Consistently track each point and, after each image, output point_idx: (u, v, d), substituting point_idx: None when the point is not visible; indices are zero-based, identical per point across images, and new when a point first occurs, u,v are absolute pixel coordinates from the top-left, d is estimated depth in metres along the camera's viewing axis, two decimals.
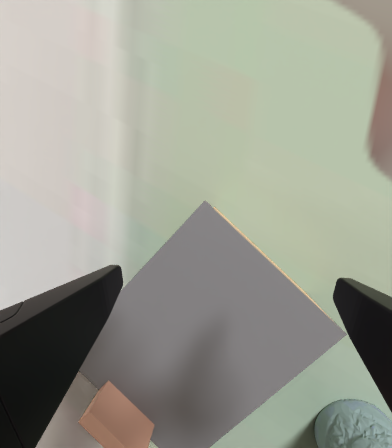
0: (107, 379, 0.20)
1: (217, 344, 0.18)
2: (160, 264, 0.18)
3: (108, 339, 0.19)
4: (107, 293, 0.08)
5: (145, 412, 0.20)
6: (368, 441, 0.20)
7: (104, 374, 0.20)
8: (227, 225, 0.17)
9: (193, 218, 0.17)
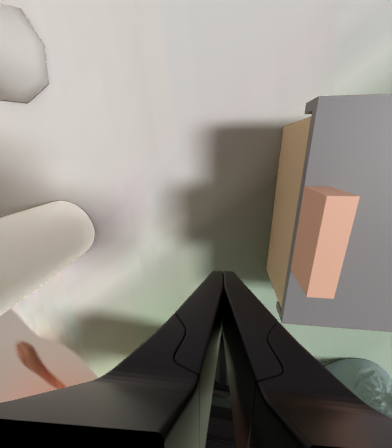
0: (330, 184, 0.13)
1: None
2: None
3: None
4: None
5: None
6: None
7: (334, 175, 0.13)
8: None
9: None
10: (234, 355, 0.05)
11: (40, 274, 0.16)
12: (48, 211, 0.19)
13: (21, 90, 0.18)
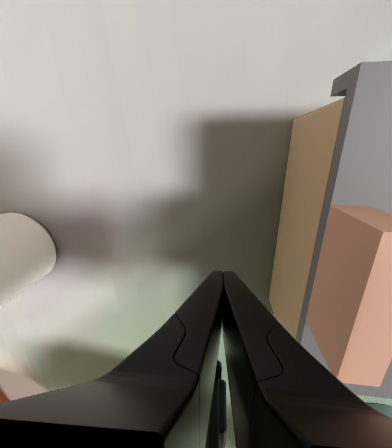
0: (370, 202, 0.08)
1: None
2: None
3: None
4: None
5: None
6: None
7: (378, 189, 0.08)
8: None
9: None
10: (234, 355, 0.05)
11: None
12: None
13: None
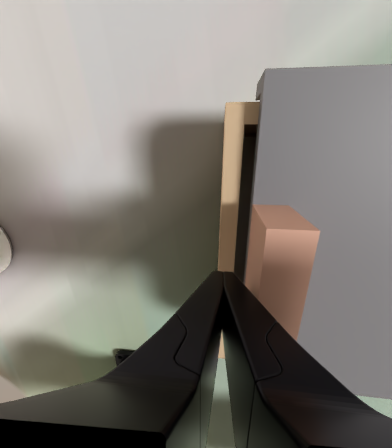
0: (289, 201, 0.09)
1: None
2: None
3: (390, 136, 0.08)
4: None
5: None
6: None
7: (295, 189, 0.09)
8: None
9: None
10: (233, 355, 0.05)
11: None
12: None
13: None
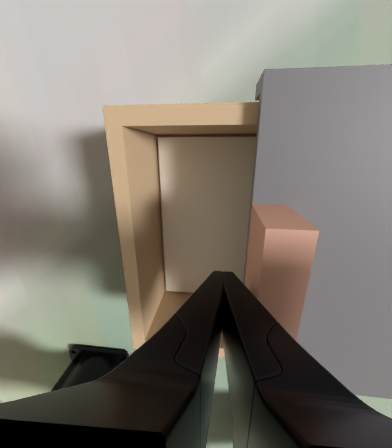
0: (288, 202, 0.09)
1: None
2: None
3: (389, 136, 0.08)
4: None
5: None
6: None
7: (294, 189, 0.09)
8: None
9: None
10: (233, 355, 0.05)
11: None
12: None
13: None
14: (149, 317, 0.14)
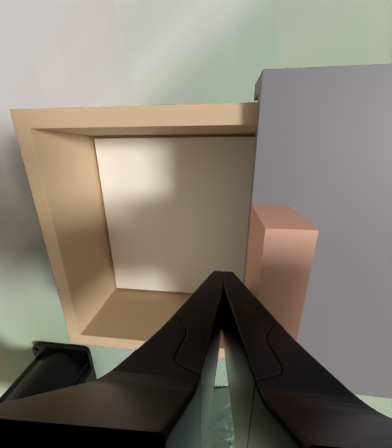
0: (288, 201, 0.09)
1: None
2: None
3: (388, 136, 0.08)
4: None
5: None
6: None
7: (293, 189, 0.09)
8: None
9: None
10: (233, 355, 0.05)
11: None
12: None
13: None
14: (89, 312, 0.15)
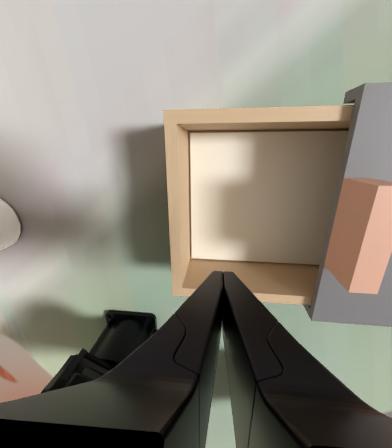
0: (371, 175, 0.12)
1: None
2: None
3: None
4: None
5: None
6: None
7: (376, 166, 0.12)
8: None
9: None
10: (234, 355, 0.05)
11: None
12: None
13: None
14: (183, 272, 0.18)
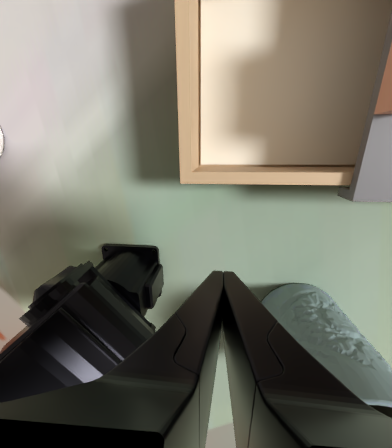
0: None
1: None
2: None
3: None
4: None
5: None
6: (344, 317, 0.19)
7: None
8: None
9: None
10: (234, 355, 0.05)
11: None
12: None
13: None
14: (193, 160, 0.15)
